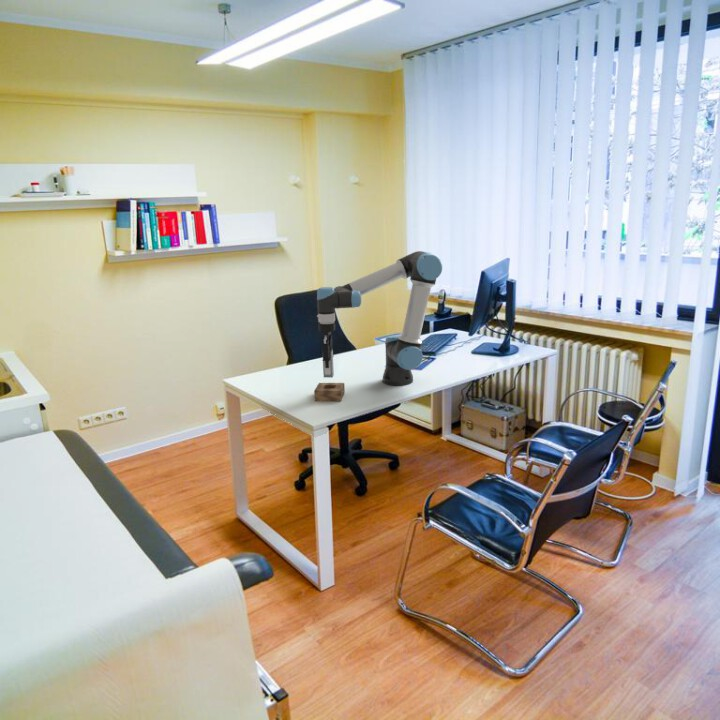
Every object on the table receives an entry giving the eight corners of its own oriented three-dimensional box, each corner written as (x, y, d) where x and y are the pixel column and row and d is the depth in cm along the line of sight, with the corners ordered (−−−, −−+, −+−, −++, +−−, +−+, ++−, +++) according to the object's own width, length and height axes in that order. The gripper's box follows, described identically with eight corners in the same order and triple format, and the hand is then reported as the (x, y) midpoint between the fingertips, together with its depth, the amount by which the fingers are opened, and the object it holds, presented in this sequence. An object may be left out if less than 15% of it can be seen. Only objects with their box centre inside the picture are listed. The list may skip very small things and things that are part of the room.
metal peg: (333, 375, 269) (332, 349, 266) (332, 377, 265) (331, 351, 262) (325, 374, 269) (324, 349, 266) (323, 377, 265) (322, 351, 262)
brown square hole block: (344, 393, 275) (344, 382, 273) (341, 401, 263) (340, 390, 262) (319, 392, 276) (318, 382, 275) (314, 401, 265) (314, 390, 263)
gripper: (321, 318, 269) (323, 367, 275) (314, 326, 253) (317, 378, 259) (337, 318, 268) (339, 367, 274) (332, 326, 252) (333, 378, 258)
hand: (328, 372), depth 267 cm, fingers closed on metal peg, 4 cm apart
